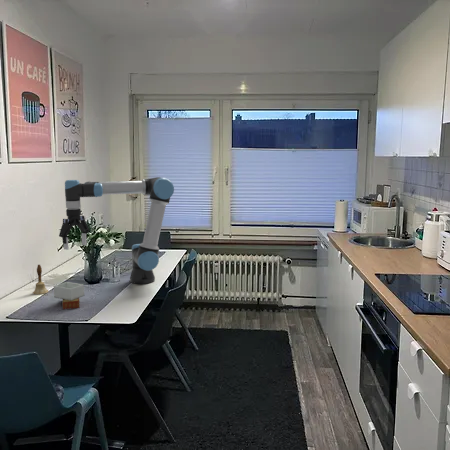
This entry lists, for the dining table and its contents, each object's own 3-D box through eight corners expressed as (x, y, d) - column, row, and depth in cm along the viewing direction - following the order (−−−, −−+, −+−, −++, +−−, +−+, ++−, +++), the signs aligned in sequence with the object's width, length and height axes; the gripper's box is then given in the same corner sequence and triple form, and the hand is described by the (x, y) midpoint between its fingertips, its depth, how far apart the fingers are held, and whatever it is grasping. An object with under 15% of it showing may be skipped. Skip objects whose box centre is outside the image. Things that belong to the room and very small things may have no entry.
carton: (62, 310, 227) (62, 302, 227) (62, 300, 242) (62, 293, 242) (79, 308, 230) (79, 300, 229) (79, 299, 245) (78, 291, 244)
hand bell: (30, 292, 256) (28, 264, 254) (45, 289, 262) (43, 262, 259) (35, 295, 250) (33, 267, 248) (50, 292, 255) (49, 265, 253)
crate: (67, 292, 242) (66, 281, 241) (84, 295, 237) (83, 284, 236) (54, 297, 234) (53, 286, 233) (71, 300, 229) (71, 289, 228)
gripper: (84, 206, 258) (86, 242, 261) (50, 210, 236) (52, 250, 239) (94, 206, 255) (96, 243, 258) (61, 211, 233) (63, 252, 236)
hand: (75, 247), depth 249 cm, fingers open, 13 cm apart
